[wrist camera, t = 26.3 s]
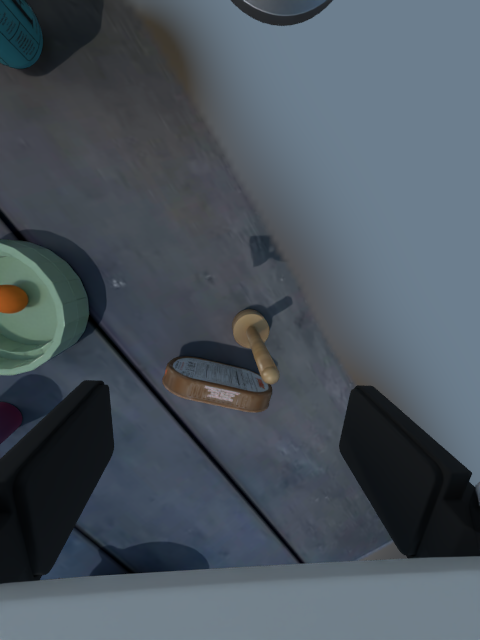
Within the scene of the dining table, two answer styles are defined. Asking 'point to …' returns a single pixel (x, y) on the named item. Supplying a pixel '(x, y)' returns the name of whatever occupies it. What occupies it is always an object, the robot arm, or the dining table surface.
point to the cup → (8, 420)
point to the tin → (217, 384)
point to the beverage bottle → (19, 34)
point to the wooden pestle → (255, 341)
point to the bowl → (39, 307)
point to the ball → (12, 299)
